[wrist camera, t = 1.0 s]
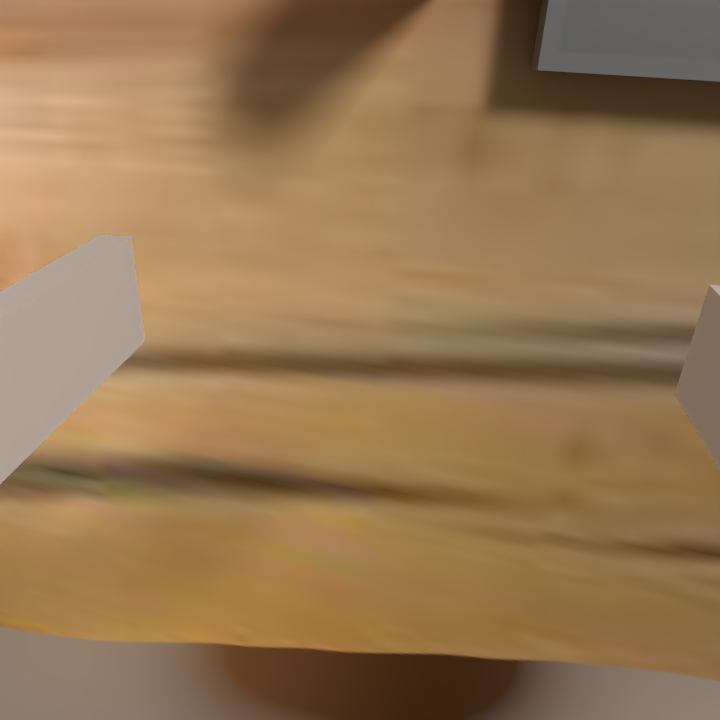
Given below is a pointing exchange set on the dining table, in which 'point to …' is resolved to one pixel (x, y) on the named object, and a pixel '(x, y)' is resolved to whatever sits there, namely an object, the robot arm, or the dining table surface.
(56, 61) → the dining table surface
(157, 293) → the dining table surface
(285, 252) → the dining table surface
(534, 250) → the dining table surface
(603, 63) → the tray
